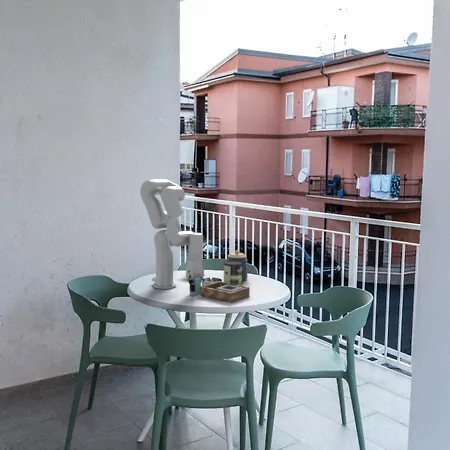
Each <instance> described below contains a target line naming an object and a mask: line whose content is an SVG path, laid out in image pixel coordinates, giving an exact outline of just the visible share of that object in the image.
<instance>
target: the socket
mask: <svg viewBox="0 0 450 450" xmlns="http://www.w3.org/2000/svg"><path fill="white" fill-rule="evenodd" d="M216 289H217V290H222V291H227V292H234V291H237V290H240V289H243V287H238V286H232V285H225V286H221V287H218V288H216Z"/></svg>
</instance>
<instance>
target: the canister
mask: <svg viewBox="0 0 450 450" xmlns="http://www.w3.org/2000/svg"><path fill="white" fill-rule="evenodd" d="M227 257H228V258H226V260H225V262H227V261H238V262H242V282H245V281H247V280H248V277H249V276H248V267H249V266H248V261H249V260H248V259H247V255H246V254H245V253H243V252H240V250H238V249H237V250H235V251H234V252H231V253H229V254H227Z"/></svg>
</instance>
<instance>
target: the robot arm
mask: <svg viewBox="0 0 450 450" xmlns="http://www.w3.org/2000/svg"><path fill="white" fill-rule="evenodd" d="M139 193H140V198H141V200H142V202H143V204H144V206H145V209H146V211H147V215H148V218H149V221H150V223H151V226H152V227H153V229H155V230H159V231H157V232H156V233H155V234H154V236H153V241H154V248H155V276H152V277H153V278H151V281H152V282H153V284H152V287H153V288H155V289H159V290H169V289H173V288H174V289H175V288H176V286H177V284H176V283H175V282H174V253H173V250H172V248H171V247H178V248H179V247H183V246H185V247H186V246H188V248H187V249H188V250H187V251H188V252H187V254H188V258H187V259H188V260H187V263H186V264H185V281H187V282H188V284H189V292H190V291H191V292H195V285H194V282H195V279H196V278H200V279H201V283H202V280H203V279H204V278H205V276H206V275H205V264H204V259H203V258H204V256H203V255H204V253H203V252H204V235H203V233H201V232H194V231H191V230H185V231H182V227H181V224H180V221H179V217H181V216H182V215H183V213H184V210H183V208H182V204H181V202H182V201H184V199H185V196H186V194H185V193H186V192H185V191H184V189H183V187H181V186H180V185H178V184H177V183H174V182H172V181H170V180H168V179H148V180H145V181H144V182H142V183H141V186H140V191H139ZM157 196H160V199H161V201H162V203H161V201H160V200H159V199H158V198H157ZM162 204H163V207H164V209H165V210H164V209H163V207H162ZM160 229H162V230H160Z"/></svg>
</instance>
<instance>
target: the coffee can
mask: <svg viewBox="0 0 450 450" xmlns="http://www.w3.org/2000/svg"><path fill="white" fill-rule="evenodd" d="M223 282H225V283H230V284H236V285H241V286H243V285H242V284H243V283H242V282H243V281H242V262H238V261H224V262H223Z"/></svg>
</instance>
